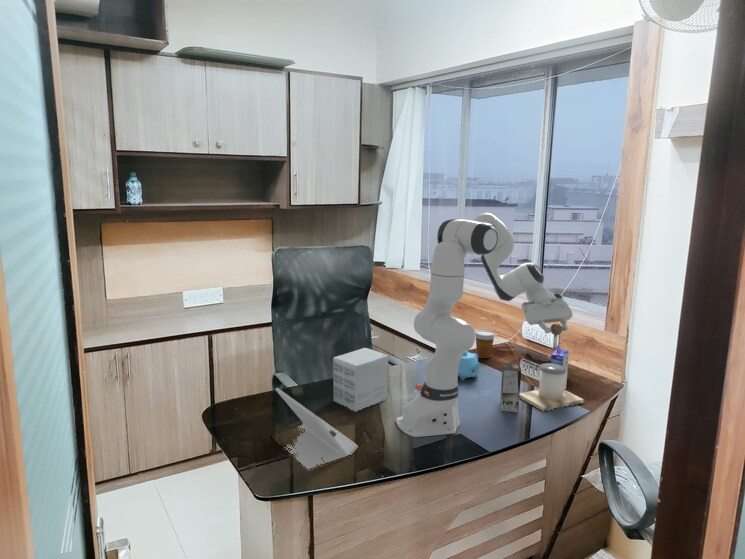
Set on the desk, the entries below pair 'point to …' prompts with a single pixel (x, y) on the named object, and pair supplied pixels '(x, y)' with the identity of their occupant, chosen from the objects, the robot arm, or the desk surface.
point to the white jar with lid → (552, 381)
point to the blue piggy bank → (468, 365)
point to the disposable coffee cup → (484, 343)
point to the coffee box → (510, 387)
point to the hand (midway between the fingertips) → (557, 331)
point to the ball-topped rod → (555, 333)
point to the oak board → (544, 404)
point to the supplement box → (360, 378)
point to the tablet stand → (316, 438)
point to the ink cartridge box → (560, 357)
